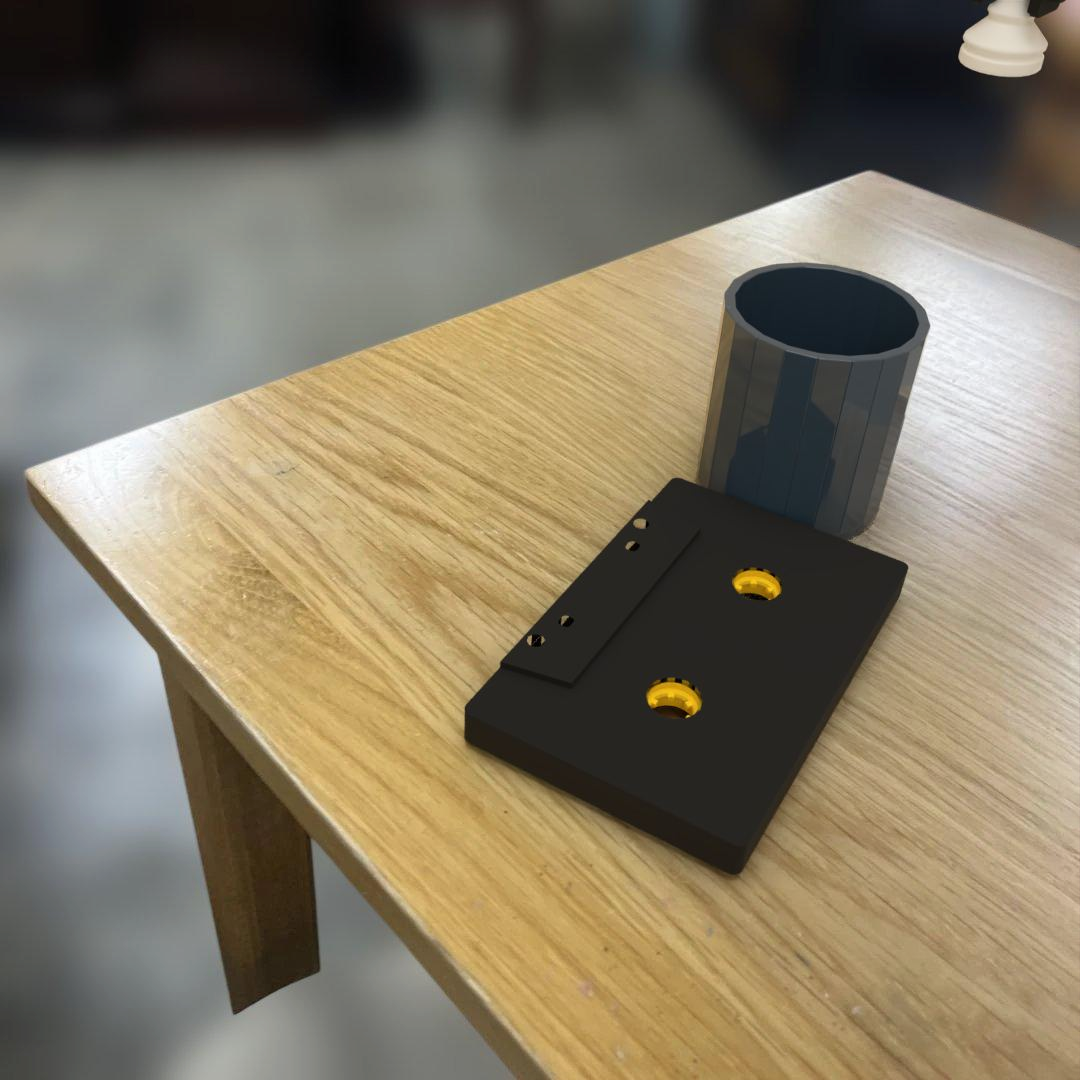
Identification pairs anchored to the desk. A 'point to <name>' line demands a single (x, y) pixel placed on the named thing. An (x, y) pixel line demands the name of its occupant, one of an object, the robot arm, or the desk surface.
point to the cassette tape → (690, 669)
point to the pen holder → (810, 392)
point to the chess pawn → (1004, 41)
